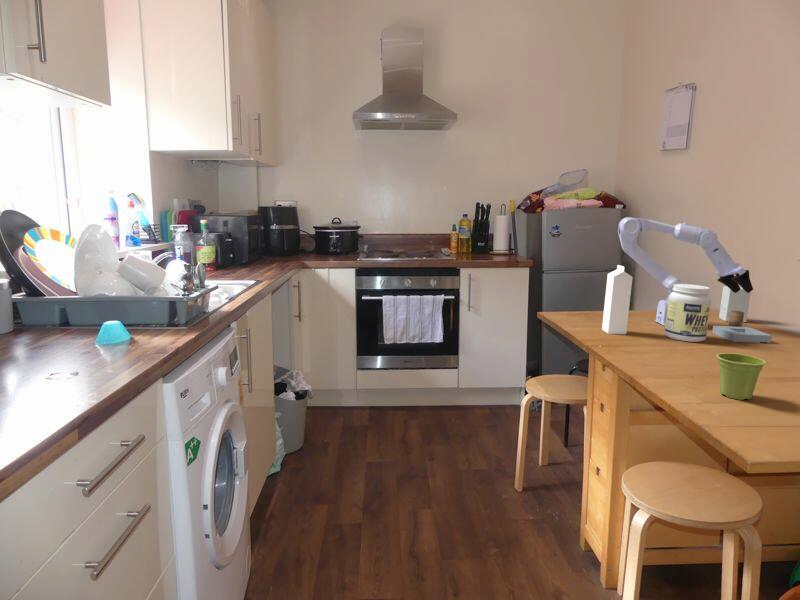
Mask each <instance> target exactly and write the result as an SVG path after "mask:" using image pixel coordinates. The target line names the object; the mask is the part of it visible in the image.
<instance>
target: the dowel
mask: <svg viewBox="0 0 800 600" xmlns="http://www.w3.org/2000/svg"><path fill="white" fill-rule="evenodd" d="M743 318H744V312H742V311H734V310H732V311H731V313H730V320H729V322H728V326H731V327H743V325H744V323H743Z"/></svg>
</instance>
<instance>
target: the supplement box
mask: <svg viewBox="0 0 800 600" xmlns="http://www.w3.org/2000/svg"><path fill="white" fill-rule="evenodd" d="M739 287H740V289H741V290H740V291H738V292H737V293H734V292H733V291H732V290H731V289H730V288H728V287H727V286H726V285H724V286H722V294H721V299H720V300H721V301H720V307H719V315H718V318H719V319H720V320H722V321H724V322H728V323H729V320H730V313H731V311H732V310H734V311H742V312H744V318H743V322H746V323H747V319H748V313H749V305H750V298H751V292H752V291H751V292H749V293H747V292H746V291H745V290H744V289H743V288H742V287H741V286H739Z"/></svg>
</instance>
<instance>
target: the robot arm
mask: <svg viewBox="0 0 800 600" xmlns="http://www.w3.org/2000/svg"><path fill="white" fill-rule="evenodd" d="M646 231H653V232H660V233H664V234H668V235H672V237H673V239H674V240H677V241H681V242H685V243H689V244H696V245H697V246H701V249H702V251H704V253H705V255H706V256H707V258H708V259H709V261H710V262H711V264H712V265H713V266H714V268H715V269H716V270H715V272H714V273H715V274H716V276H717V277H719V278H717V282H719V283H721V284H723V285H724V286H727V287H728V288H730V289H731V290H732V291H733V292H734V293H737V292H738V291H740V290H741V289H740V287H742V288H743V289H744V290H745V291H746V292H747V293H749V292H753V290H754V288H753V285H752V282H751V279H750V270H749V269H745V268H744V267H743V266H741V264H740V262H735V261H734V259H733V258H732V257H731V255H730V253H728V251H727V250H726V248H725V247H724V245H723V244H722V243H721V242H720V240H719V239H718V234H717V233H716V232H714V231H713V230H711V229H706V228H703V226H694V225H689V223H688V222H683V223H677V224H676V225H672V224H669V223H665V222H660V221H657V220H653V219H650V218H638V217H630V216H627V217H626V216H625V217H624V218H622V219H621V220H620V221H619V222H618V226H617V234H618V238H619V241H620V246H621V250H622V251H623V253H626V255H628V256H629V258H631V259H632V260H634V262H635V263H637V264H638V265H639V266H640V267H642V268H643V269H644V270H645V271H646V272H647V273H649V274H650V276H652V278H654V279H655V280H657V282H659V283H660V284H661V285H662V286H663V287H664V288H665V289H666V292H667V294H668V295H667V296H666V298H665V299H661V300H659V301H658V304H657V308H656V315H655V320H654V322H655V321H656V323H657V322H658V324H660V325H662V326H664V327H665V324H666V317H667V310H668V301H669V295H670V294H671V293H673V292H674V291H673V290H672V289H673V286H674V284H687V283H686V282H684V281H682V280H680V279H677V278H676V277H675V276H674V275H673V274H671V273H670V272H669V271H668V270H667V269H665V267H663V266H662V265H661V264H660V263H659V262H658V261H656V260H655V259H654V257H652V256H650V255H649V254H648V253H647V252H646V251H644V250H643V249H642V248H641V247H640V246H639V245H638V235H639V234H640V232H642V233H643V232H646Z"/></svg>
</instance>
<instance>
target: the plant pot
mask: <svg viewBox="0 0 800 600" xmlns="http://www.w3.org/2000/svg"><path fill="white" fill-rule="evenodd" d="M716 358H717V361H718V365H719V390H720V394H721V395H724V396H726V397H727V398H730V399H734V400H740V401H743V400H745V399H746V400H752V398H753V395H754V391H755V388H756V385H757V383H758V380H759V379H758V378H759V375H760V373H761V371H762V369H763V367H764V366H765V365H766V364H767V362H766V361H765V359H762V358H759V357H756V356H752V355H748V354H741V353H734V352H732V353H731V352H728V353H727V352H722V353H718V354H716Z"/></svg>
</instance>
